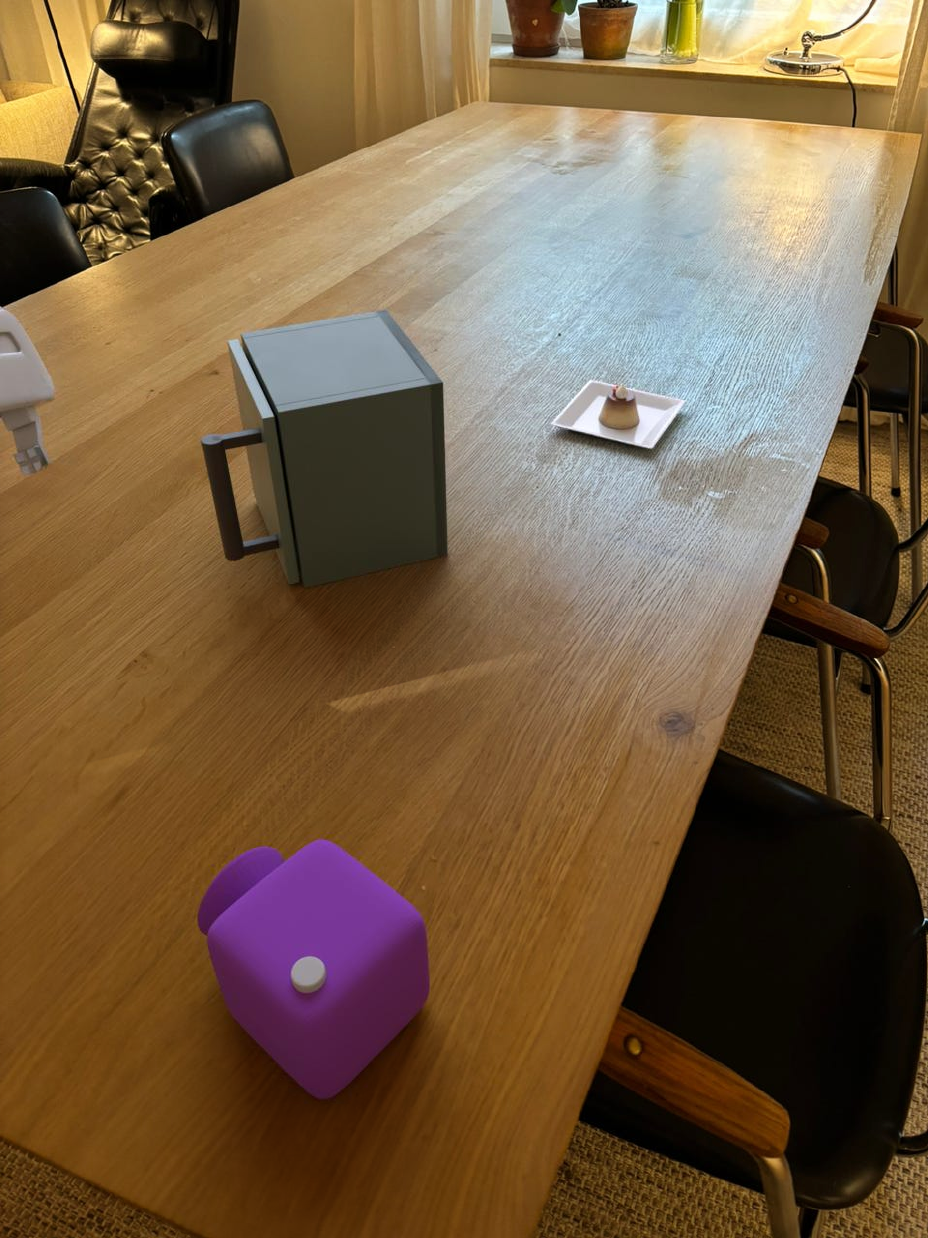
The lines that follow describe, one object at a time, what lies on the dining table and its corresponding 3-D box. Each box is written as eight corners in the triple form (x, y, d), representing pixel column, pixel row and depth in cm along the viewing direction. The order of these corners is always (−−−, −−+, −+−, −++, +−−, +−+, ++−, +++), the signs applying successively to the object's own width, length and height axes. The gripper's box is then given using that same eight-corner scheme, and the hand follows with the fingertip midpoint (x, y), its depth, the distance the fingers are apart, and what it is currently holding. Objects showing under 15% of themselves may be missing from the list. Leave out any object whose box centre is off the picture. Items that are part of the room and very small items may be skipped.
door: (235, 597, 89) (200, 430, 78) (206, 506, 100) (172, 349, 89) (299, 582, 91) (274, 416, 80) (264, 494, 102) (237, 338, 91)
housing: (304, 588, 91) (278, 412, 79) (267, 498, 102) (240, 332, 91) (448, 554, 95) (443, 381, 83) (397, 471, 106) (386, 309, 94)
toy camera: (279, 880, 67) (258, 783, 60) (453, 974, 61) (449, 879, 55) (166, 1011, 60) (128, 917, 53) (350, 1131, 54) (332, 1042, 48)
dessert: (589, 387, 120) (592, 350, 117) (685, 409, 116) (691, 371, 113) (549, 432, 112) (551, 394, 109) (651, 457, 108) (656, 418, 104)
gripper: (-43, 307, 77) (38, 473, 81) (-236, 306, 58) (-119, 525, 62) (26, 277, 76) (105, 447, 80) (-146, 266, 57) (-32, 491, 61)
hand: (7, 481), depth 71 cm, fingers open, 8 cm apart
